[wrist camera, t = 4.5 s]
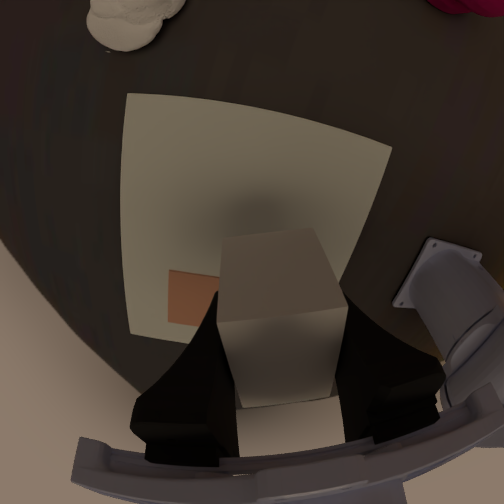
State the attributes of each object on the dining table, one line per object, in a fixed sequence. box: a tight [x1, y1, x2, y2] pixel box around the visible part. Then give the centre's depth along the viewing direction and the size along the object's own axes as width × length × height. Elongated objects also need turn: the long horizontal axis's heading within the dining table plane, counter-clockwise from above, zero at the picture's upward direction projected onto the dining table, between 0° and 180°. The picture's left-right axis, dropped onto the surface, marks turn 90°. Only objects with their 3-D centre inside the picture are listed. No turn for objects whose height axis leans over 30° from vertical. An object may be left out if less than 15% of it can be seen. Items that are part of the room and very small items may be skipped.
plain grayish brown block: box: [216, 228, 348, 408], centre depth 12 cm, size 4×6×5 cm, turn 6°
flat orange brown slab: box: [168, 270, 219, 327], centre depth 24 cm, size 8×6×1 cm
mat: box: [120, 93, 392, 343], centre depth 22 cm, size 18×22×1 cm
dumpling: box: [87, 0, 186, 53], centre depth 10 cm, size 7×5×4 cm
